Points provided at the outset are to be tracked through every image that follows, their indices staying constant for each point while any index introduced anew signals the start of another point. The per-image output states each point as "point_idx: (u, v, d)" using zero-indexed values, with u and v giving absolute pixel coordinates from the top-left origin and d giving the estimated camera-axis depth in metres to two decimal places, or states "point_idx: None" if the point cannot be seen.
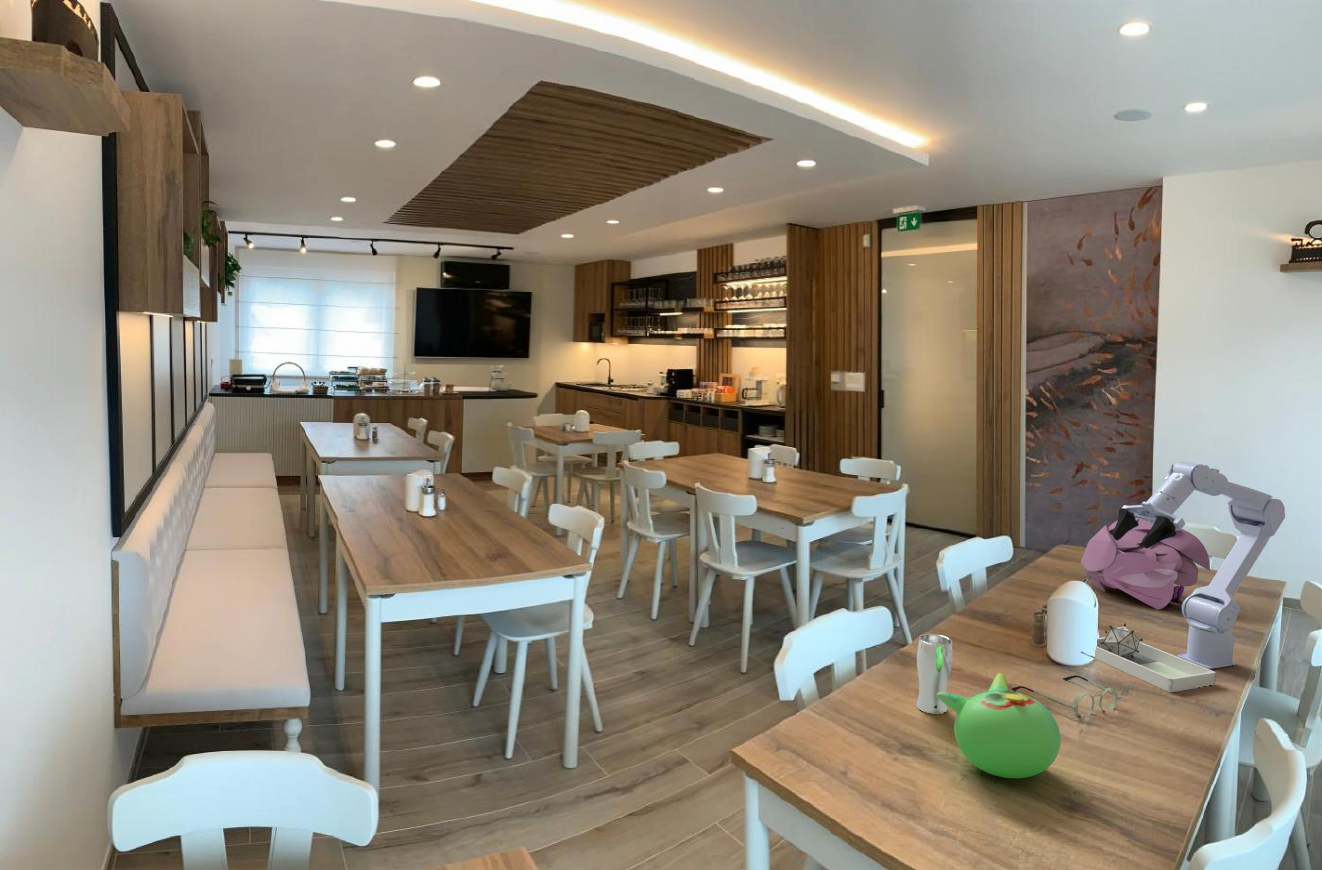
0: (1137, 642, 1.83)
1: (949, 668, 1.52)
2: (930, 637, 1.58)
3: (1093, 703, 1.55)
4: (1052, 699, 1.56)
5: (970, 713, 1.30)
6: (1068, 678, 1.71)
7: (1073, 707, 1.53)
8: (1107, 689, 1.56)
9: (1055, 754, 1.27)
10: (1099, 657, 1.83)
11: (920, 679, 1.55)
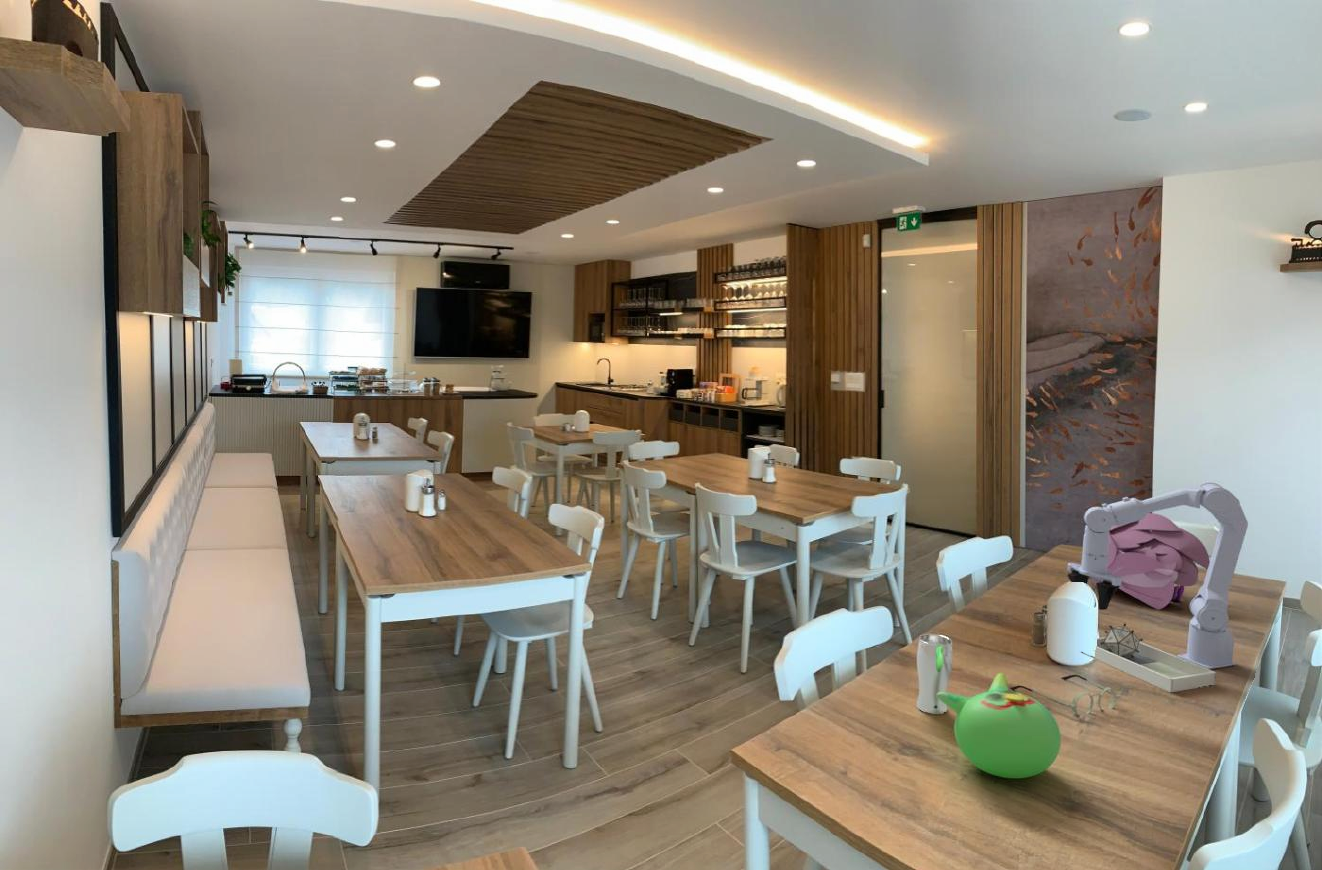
0: (1137, 642, 1.83)
1: (949, 668, 1.52)
2: (930, 637, 1.58)
3: (1092, 702, 1.55)
4: (1051, 699, 1.57)
5: (970, 713, 1.30)
6: (1067, 677, 1.71)
7: (1072, 707, 1.53)
8: (1106, 688, 1.56)
9: (1055, 754, 1.27)
10: (1099, 657, 1.83)
11: (920, 679, 1.55)
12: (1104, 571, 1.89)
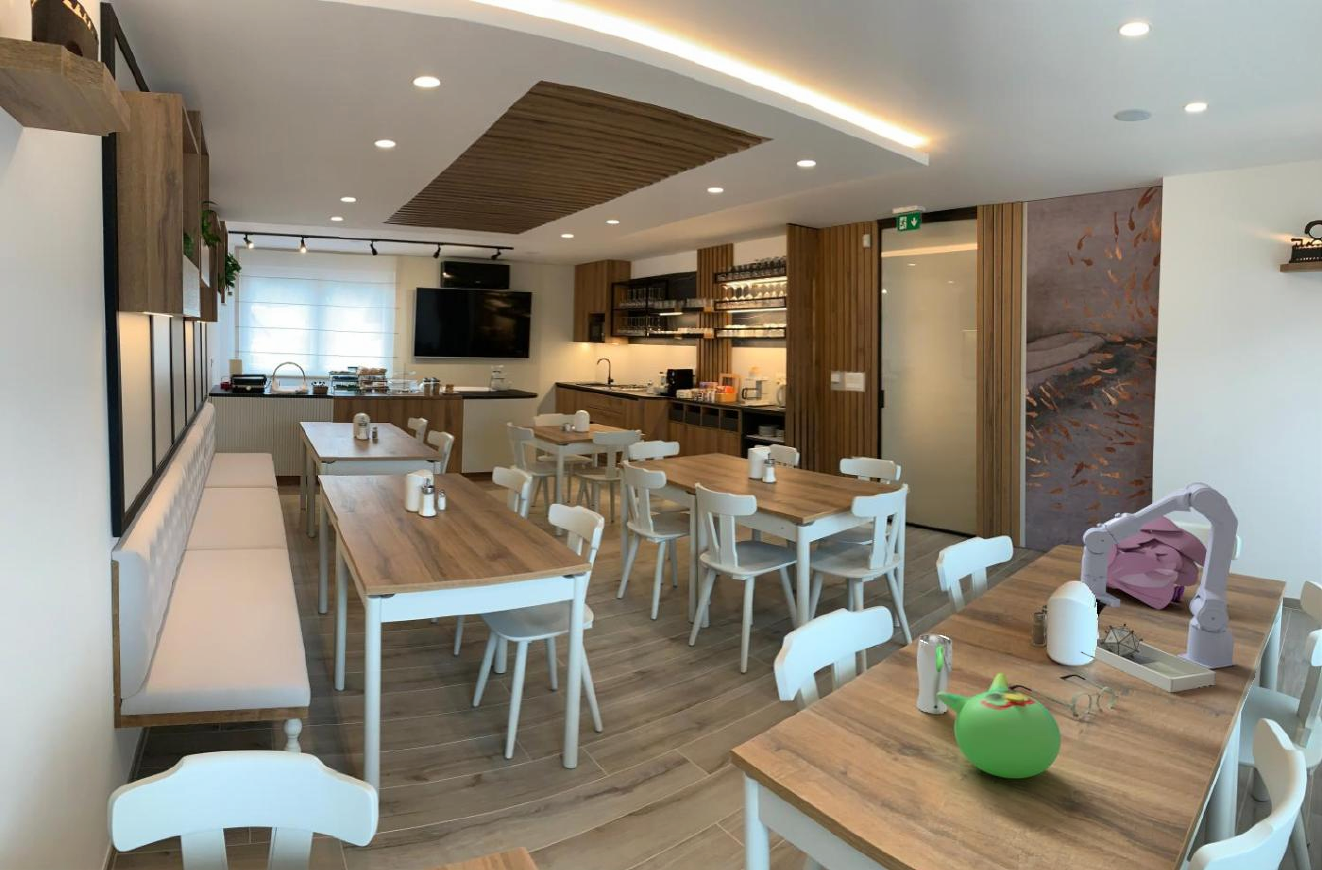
0: (1137, 642, 1.83)
1: (949, 668, 1.52)
2: (930, 637, 1.58)
3: (1090, 702, 1.55)
4: (1049, 698, 1.57)
5: (970, 713, 1.30)
6: (1066, 677, 1.71)
7: (1070, 706, 1.53)
8: (1104, 688, 1.57)
9: (1055, 754, 1.27)
10: (1099, 657, 1.83)
11: (920, 679, 1.55)
12: (1103, 592, 1.90)
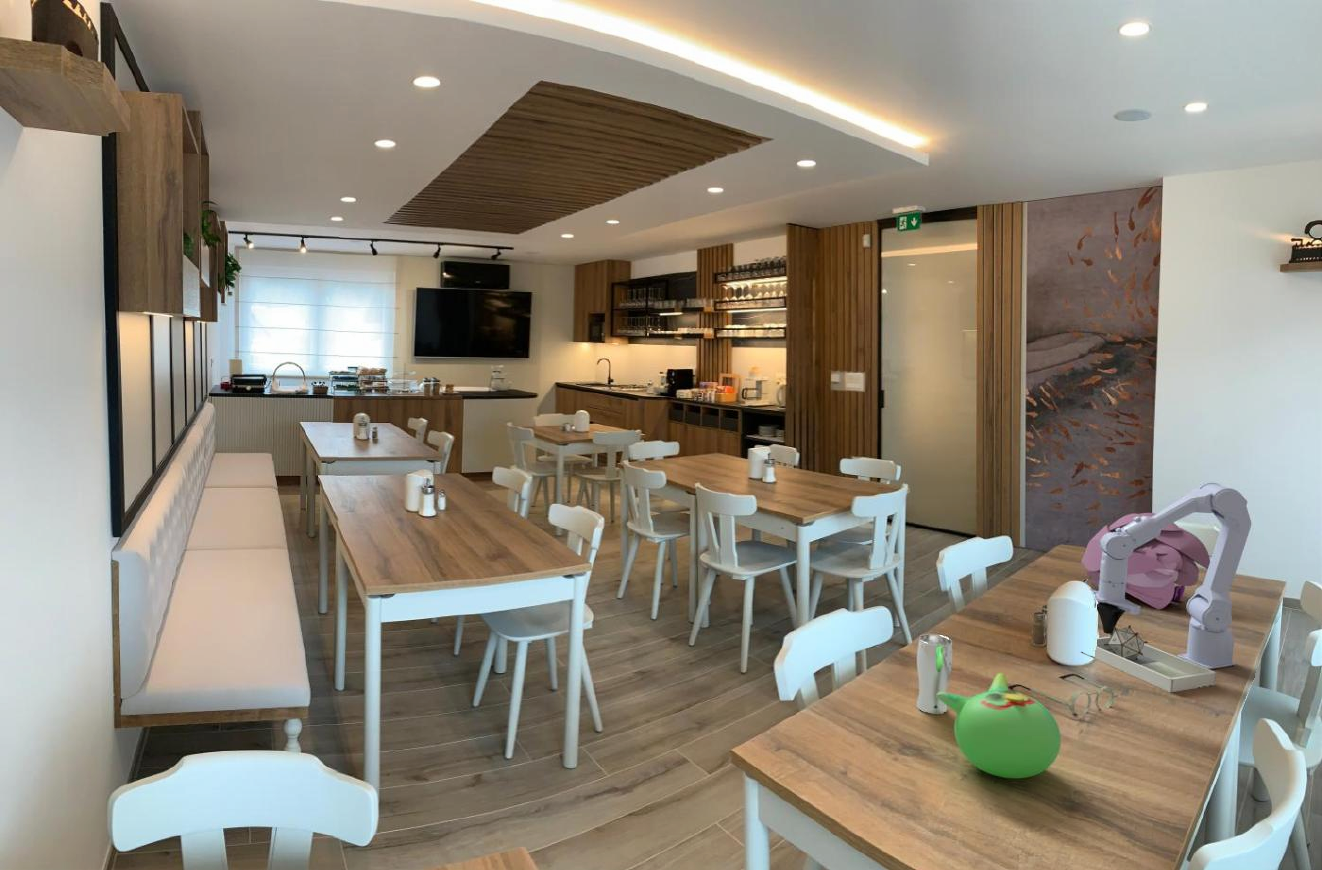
0: (1141, 644, 1.81)
1: (949, 668, 1.52)
2: (930, 637, 1.58)
3: (1089, 701, 1.56)
4: (1048, 697, 1.57)
5: (970, 713, 1.30)
6: (1065, 676, 1.71)
7: (1069, 705, 1.53)
8: (1103, 687, 1.57)
9: (1055, 754, 1.27)
10: (1099, 657, 1.83)
11: (920, 679, 1.55)
12: (1122, 599, 1.85)
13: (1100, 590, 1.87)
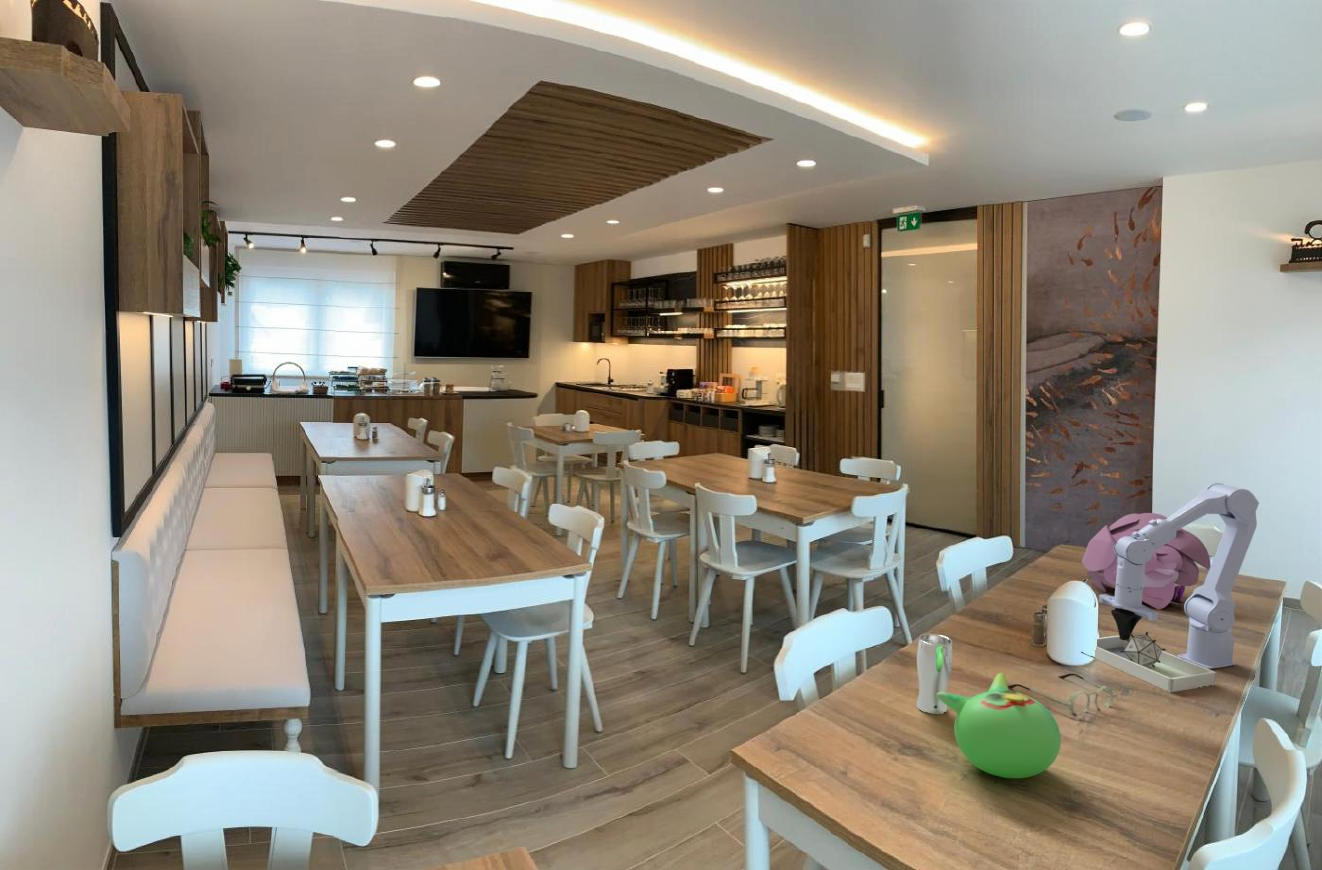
0: (1159, 652, 1.77)
1: (949, 668, 1.52)
2: (930, 637, 1.58)
3: (1088, 701, 1.56)
4: (1048, 697, 1.57)
5: (970, 713, 1.30)
6: (1064, 676, 1.72)
7: (1068, 705, 1.54)
8: (1102, 687, 1.57)
9: (1055, 754, 1.27)
10: (1099, 657, 1.83)
11: (920, 679, 1.55)
12: (1139, 605, 1.80)
13: (1116, 596, 1.83)
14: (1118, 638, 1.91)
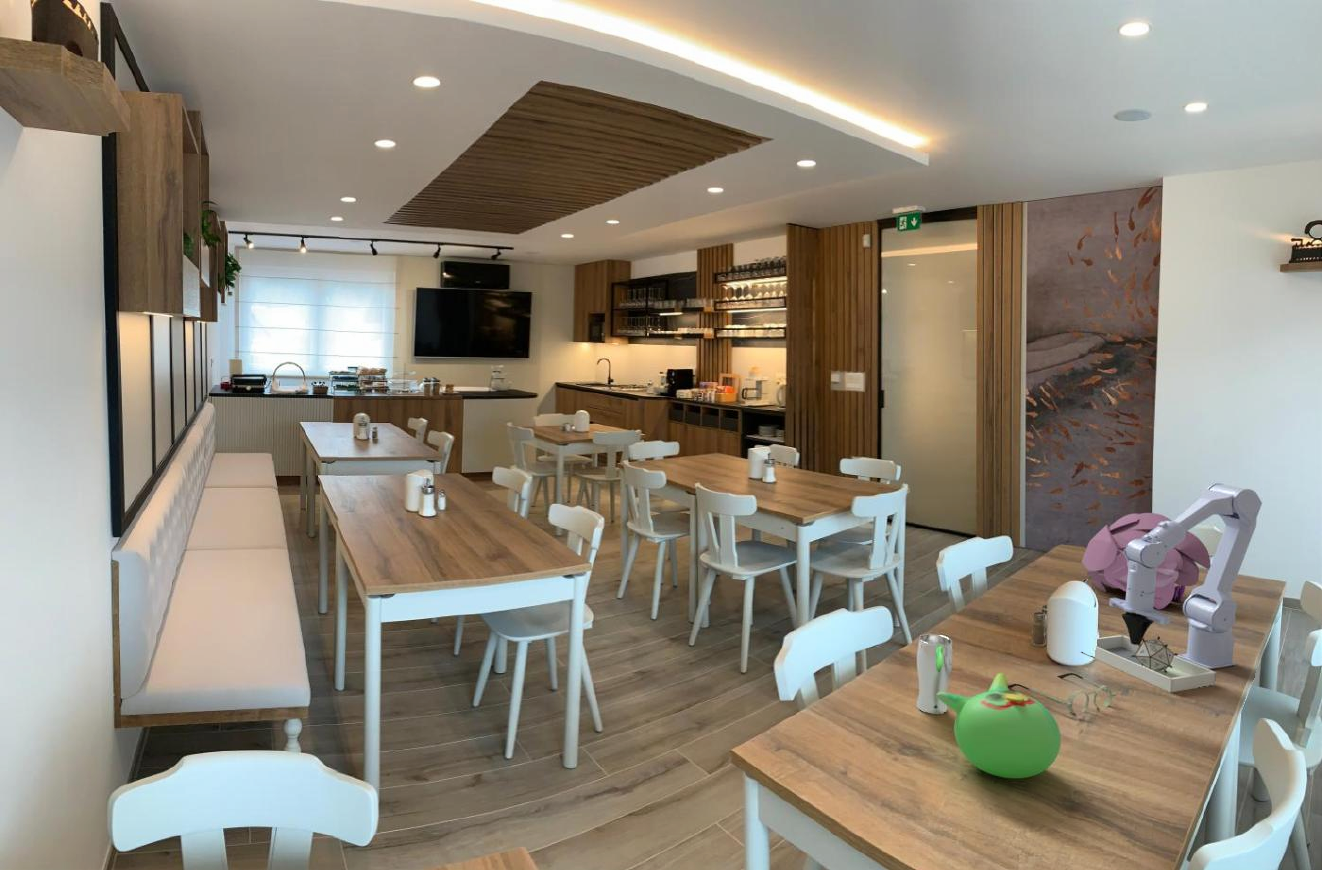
0: (1171, 657, 1.74)
1: (949, 668, 1.52)
2: (930, 637, 1.58)
3: (1087, 700, 1.56)
4: (1047, 697, 1.57)
5: (970, 713, 1.30)
6: (1063, 676, 1.72)
7: (1068, 704, 1.54)
8: (1101, 686, 1.57)
9: (1055, 754, 1.27)
10: (1099, 657, 1.83)
11: (920, 679, 1.55)
12: (1151, 609, 1.77)
13: (1127, 599, 1.80)
14: (1118, 638, 1.91)
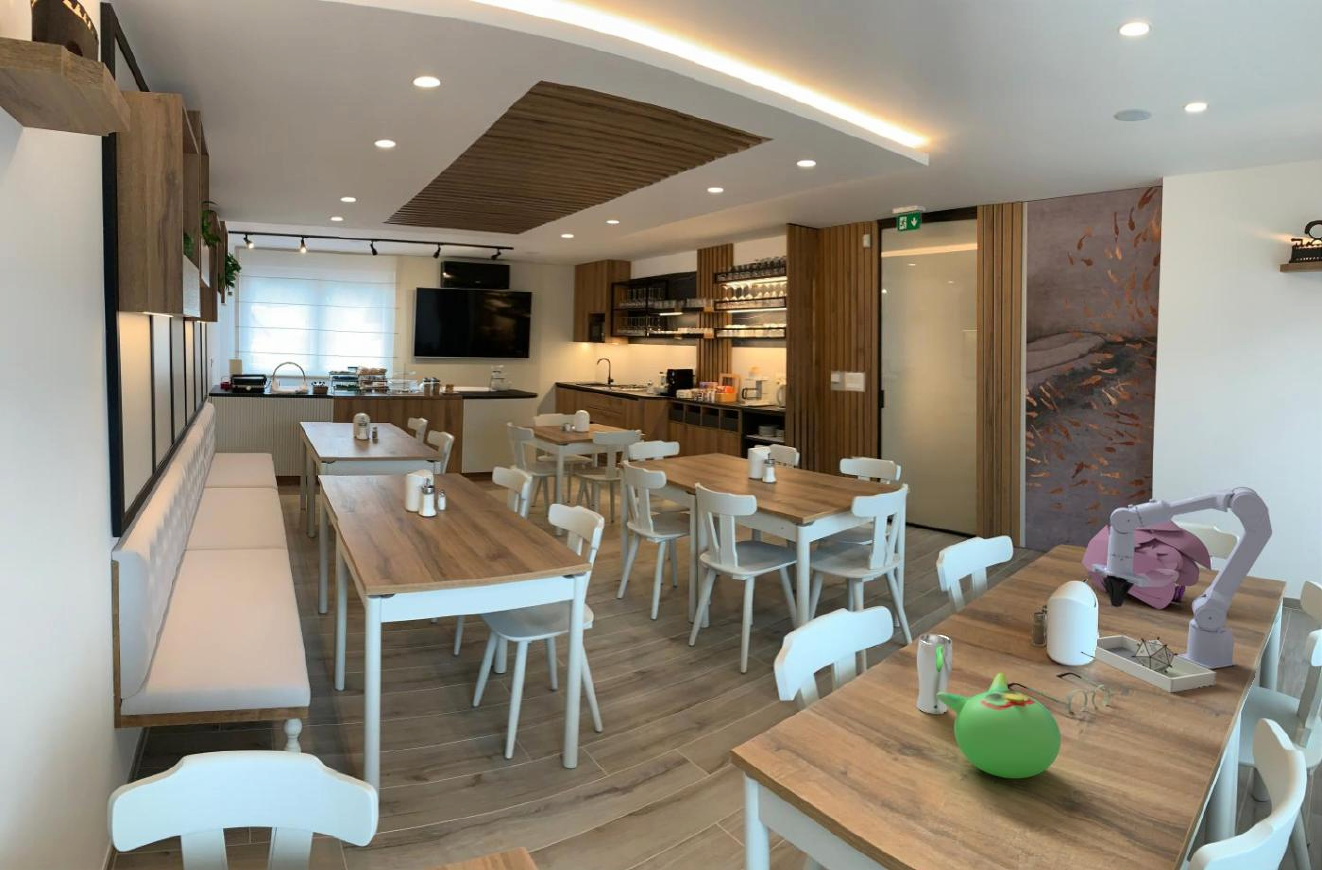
0: (1171, 657, 1.74)
1: (949, 668, 1.52)
2: (930, 637, 1.58)
3: (1086, 700, 1.56)
4: (1045, 696, 1.58)
5: (970, 713, 1.30)
6: (1062, 675, 1.72)
7: (1066, 703, 1.54)
8: (1100, 686, 1.58)
9: (1055, 754, 1.27)
10: (1099, 657, 1.83)
11: (920, 679, 1.55)
12: (1130, 572, 1.89)
13: (1108, 564, 1.91)
14: (1118, 638, 1.91)
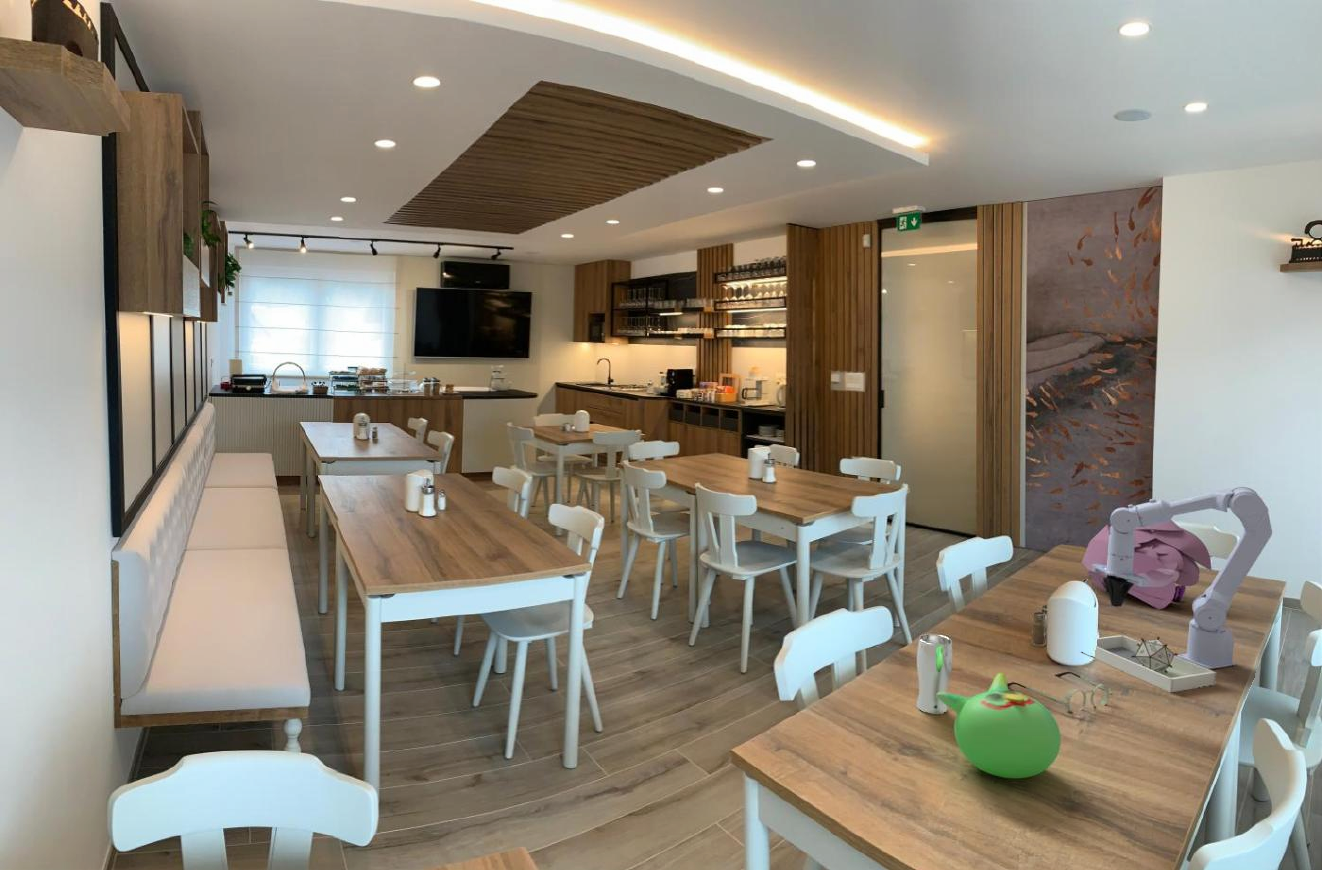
0: (1171, 657, 1.74)
1: (949, 668, 1.52)
2: (930, 637, 1.58)
3: (1084, 699, 1.57)
4: (1044, 695, 1.58)
5: (970, 713, 1.30)
6: (1061, 674, 1.72)
7: (1065, 703, 1.54)
8: (1098, 685, 1.58)
9: (1055, 754, 1.27)
10: (1099, 657, 1.83)
11: (920, 679, 1.55)
12: (1130, 572, 1.89)
13: (1108, 564, 1.92)
14: (1118, 638, 1.91)
